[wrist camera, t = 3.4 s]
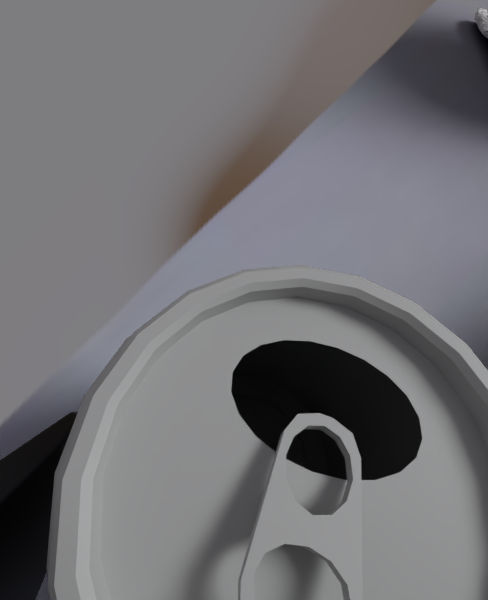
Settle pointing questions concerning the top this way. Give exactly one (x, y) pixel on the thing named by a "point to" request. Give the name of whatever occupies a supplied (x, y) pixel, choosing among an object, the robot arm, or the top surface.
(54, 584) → the can
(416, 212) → the top surface
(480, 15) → the cookie jar
